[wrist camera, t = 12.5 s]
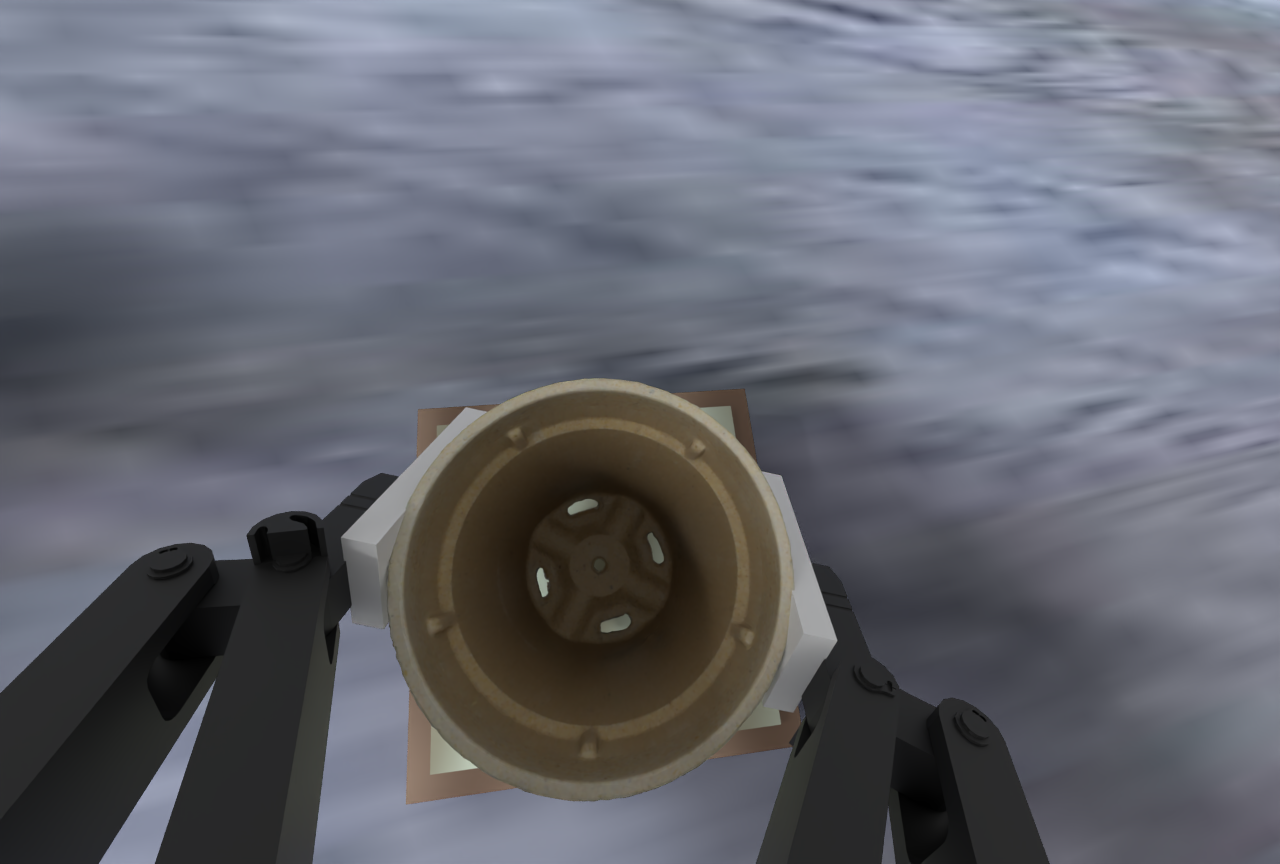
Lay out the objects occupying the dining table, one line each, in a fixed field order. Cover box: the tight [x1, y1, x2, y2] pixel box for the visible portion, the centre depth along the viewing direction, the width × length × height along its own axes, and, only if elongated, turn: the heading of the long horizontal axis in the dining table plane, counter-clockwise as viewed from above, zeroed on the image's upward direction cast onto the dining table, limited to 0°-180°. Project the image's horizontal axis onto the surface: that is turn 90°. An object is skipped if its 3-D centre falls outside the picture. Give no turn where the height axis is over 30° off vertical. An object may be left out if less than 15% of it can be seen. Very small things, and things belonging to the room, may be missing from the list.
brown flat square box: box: [406, 389, 801, 804], centre depth 23 cm, size 16×16×4 cm
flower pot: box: [387, 378, 795, 801], centre depth 15 cm, size 9×9×9 cm
